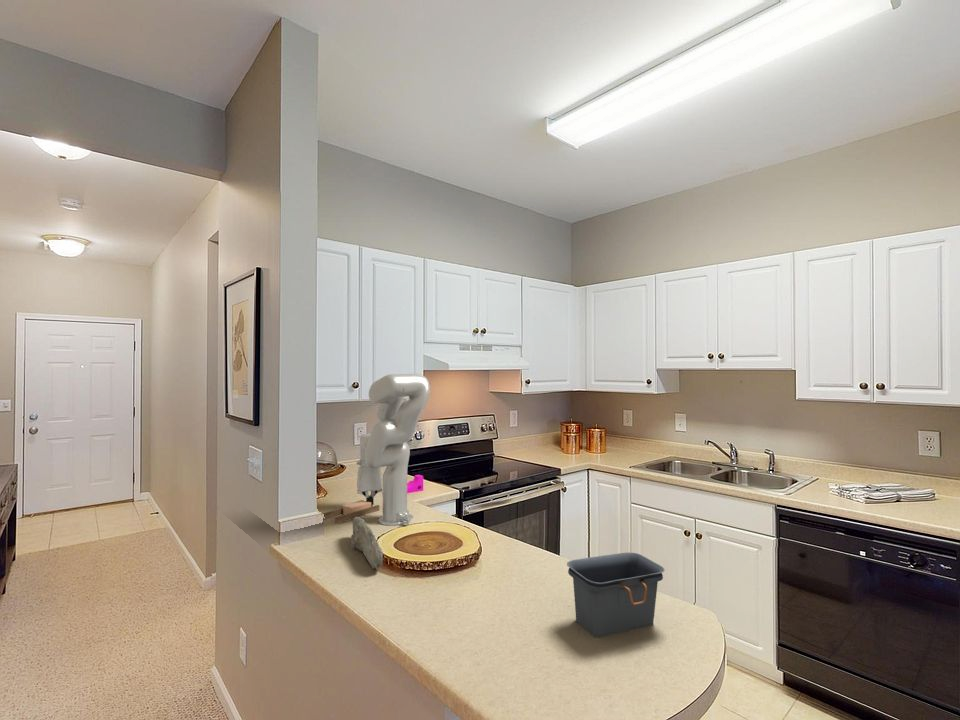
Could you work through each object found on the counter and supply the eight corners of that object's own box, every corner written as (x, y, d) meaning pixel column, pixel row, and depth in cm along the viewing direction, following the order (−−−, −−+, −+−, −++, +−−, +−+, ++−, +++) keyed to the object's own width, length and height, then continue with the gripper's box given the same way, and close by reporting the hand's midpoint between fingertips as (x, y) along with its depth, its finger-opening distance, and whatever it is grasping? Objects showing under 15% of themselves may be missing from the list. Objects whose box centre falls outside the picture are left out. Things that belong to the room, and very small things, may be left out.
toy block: (416, 488, 245) (416, 473, 245) (423, 491, 240) (423, 476, 240) (389, 493, 236) (389, 478, 236) (395, 496, 231) (395, 480, 231)
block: (371, 512, 208) (371, 502, 208) (352, 518, 200) (352, 508, 200) (361, 509, 211) (361, 500, 211) (342, 515, 203) (342, 505, 203)
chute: (379, 511, 208) (379, 505, 208) (336, 524, 191) (336, 518, 191) (364, 507, 214) (364, 501, 214) (321, 519, 197) (321, 513, 197)
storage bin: (633, 604, 128) (633, 549, 128) (677, 635, 114) (677, 572, 114) (561, 620, 120) (561, 561, 120) (599, 655, 106) (599, 588, 106)
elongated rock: (389, 575, 146) (389, 541, 146) (371, 579, 143) (371, 544, 143) (359, 538, 177) (359, 510, 177) (344, 540, 174) (344, 512, 174)
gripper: (352, 466, 204) (353, 511, 204) (388, 463, 210) (389, 506, 209) (350, 463, 211) (350, 506, 211) (385, 460, 217) (385, 502, 216)
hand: (369, 506), depth 210 cm, fingers closed
